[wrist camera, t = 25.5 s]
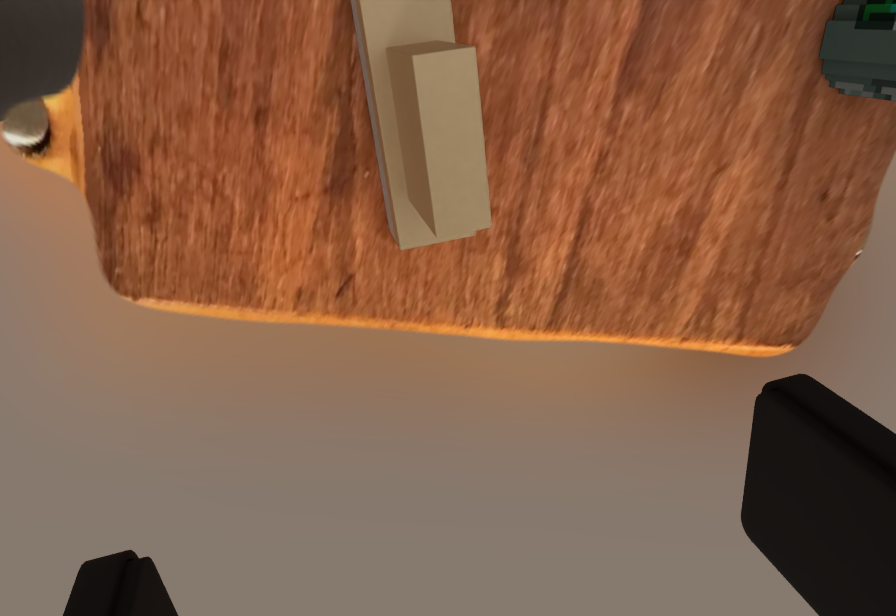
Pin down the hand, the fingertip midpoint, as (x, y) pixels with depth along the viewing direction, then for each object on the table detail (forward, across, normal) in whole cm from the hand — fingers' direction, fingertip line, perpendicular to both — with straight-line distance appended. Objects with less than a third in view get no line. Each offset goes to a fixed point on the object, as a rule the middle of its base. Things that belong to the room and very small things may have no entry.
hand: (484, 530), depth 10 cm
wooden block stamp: (+26, -4, -2) cm, 27 cm away
